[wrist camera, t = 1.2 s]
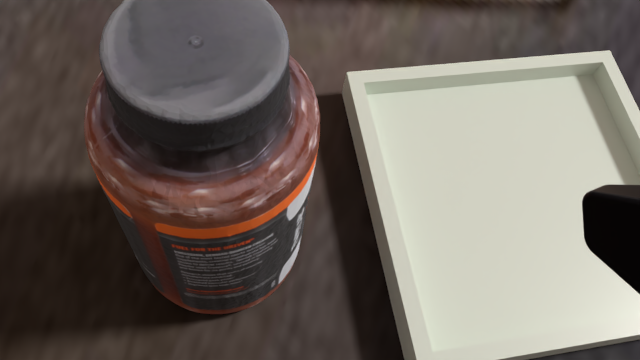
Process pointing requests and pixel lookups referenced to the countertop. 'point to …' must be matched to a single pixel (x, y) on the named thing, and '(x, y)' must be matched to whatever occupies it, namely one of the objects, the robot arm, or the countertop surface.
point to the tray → (496, 201)
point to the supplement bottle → (204, 146)
